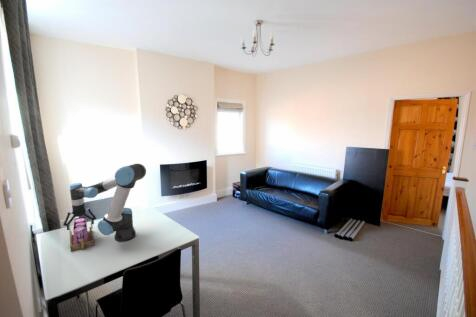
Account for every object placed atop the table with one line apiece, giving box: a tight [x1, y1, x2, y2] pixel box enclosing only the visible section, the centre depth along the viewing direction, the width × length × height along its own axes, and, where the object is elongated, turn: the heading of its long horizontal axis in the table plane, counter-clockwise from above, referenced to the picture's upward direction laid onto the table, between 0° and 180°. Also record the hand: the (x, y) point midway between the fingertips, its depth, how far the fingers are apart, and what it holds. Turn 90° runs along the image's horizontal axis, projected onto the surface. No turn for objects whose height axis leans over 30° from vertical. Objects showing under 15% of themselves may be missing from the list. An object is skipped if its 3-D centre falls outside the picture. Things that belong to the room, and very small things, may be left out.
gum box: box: [72, 216, 88, 244], centre depth 172 cm, size 24×8×14 cm, turn 33°
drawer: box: [69, 226, 95, 252], centre depth 172 cm, size 14×29×8 cm, turn 36°
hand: (81, 230), depth 173 cm, fingers open, 13 cm apart
